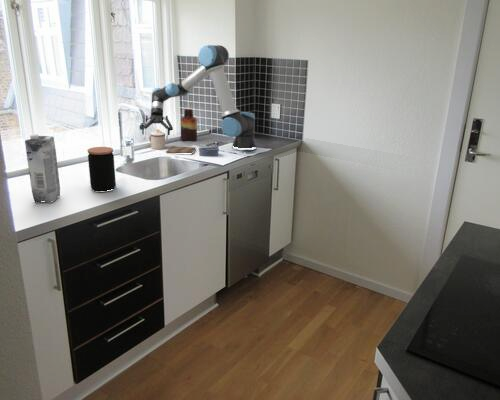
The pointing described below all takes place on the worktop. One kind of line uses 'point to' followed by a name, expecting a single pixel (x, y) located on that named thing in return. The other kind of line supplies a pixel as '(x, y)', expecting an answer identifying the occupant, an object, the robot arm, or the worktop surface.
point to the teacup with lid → (157, 140)
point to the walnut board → (181, 149)
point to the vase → (188, 126)
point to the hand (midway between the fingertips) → (155, 138)
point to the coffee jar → (101, 168)
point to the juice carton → (43, 168)
